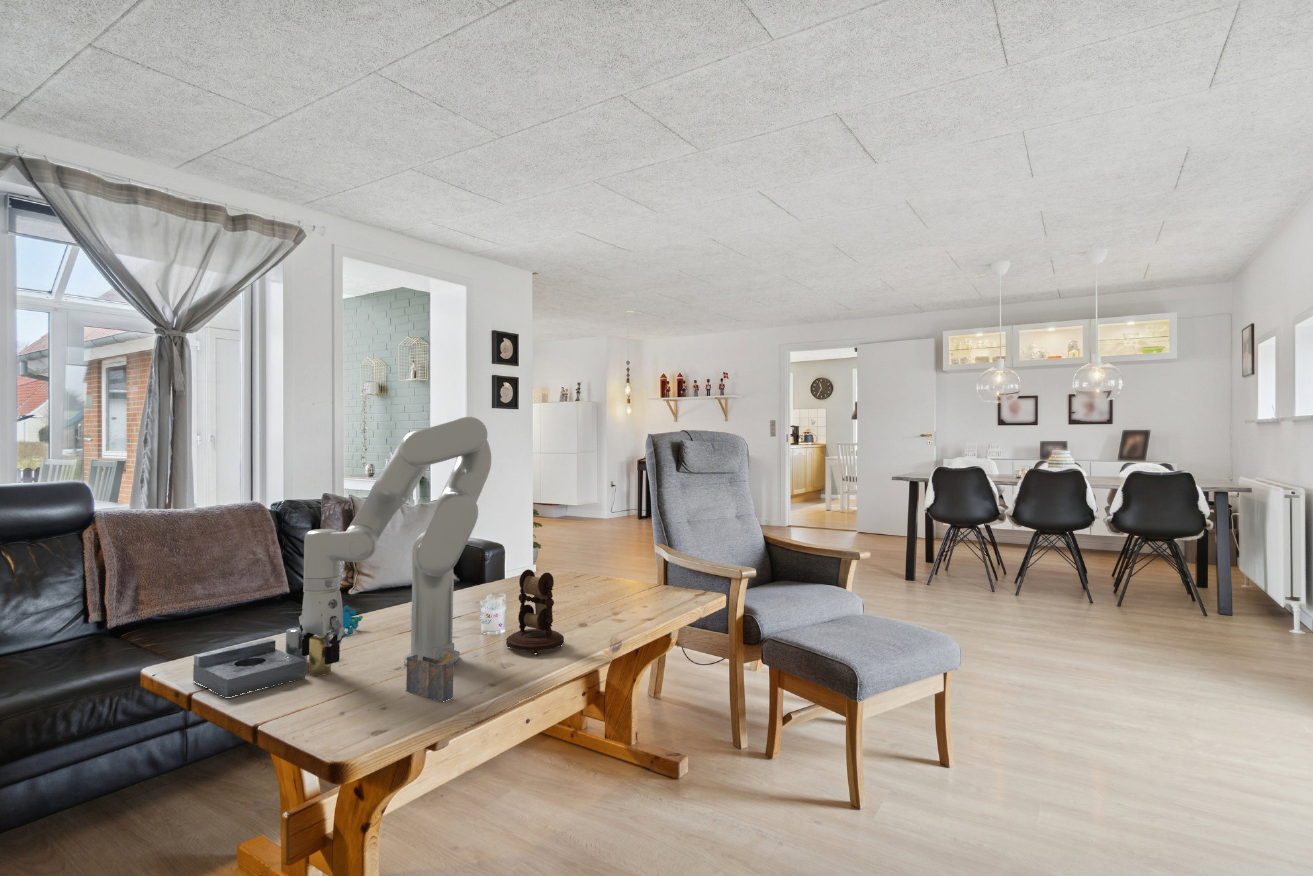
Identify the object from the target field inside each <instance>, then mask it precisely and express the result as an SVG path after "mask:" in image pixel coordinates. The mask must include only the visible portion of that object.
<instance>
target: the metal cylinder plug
mask: <svg viewBox="0 0 1313 876" xmlns="http://www.w3.org/2000/svg"><path fill="white" fill-rule="evenodd" d="M301 633H302V632H301V630H300V626H299V627H297V626H296V627H291V628H287V629H286V630H285V653H288V654H290V655H293V656H296V657H298V658H301V659H304V660H305V665H307V663H308V655H307V656H302V639H304V638H301Z"/></svg>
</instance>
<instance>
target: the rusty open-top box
mask: <svg viewBox="0 0 1313 876" xmlns="http://www.w3.org/2000/svg"><path fill="white" fill-rule="evenodd" d="M453 655H454V654H453ZM453 655H452V654H448V651H447V652H446V654H444V661H441V660H437V659H433V658H429V657H426V656H423V661H422V660H418V654H416V655H413V656H409V657H407V666H406V683H405V684H406V688H405V689H406V692H407V691H408V692H407V693H411V694H413V695H417V696H420V695H422V696H421V697H423V696H424V698H427V697H428V698H427V699H430V698H431V700H433V699H435V701H436V700H438V701H437V702H440V701H442V702H441V703H444V702H443V701H446V700H448V699H451V698H452V697H453V698H454V664H455V663H452V664H449V665H446V663H447V662H449V661H450V660H451V659H452V658H453ZM451 700H452V699H451ZM448 701H449V700H448ZM446 702H447V701H446Z"/></svg>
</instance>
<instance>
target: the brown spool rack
mask: <svg viewBox="0 0 1313 876" xmlns="http://www.w3.org/2000/svg"><path fill="white" fill-rule="evenodd" d="M518 582H519V584H518V585H519V587H520V589H519V592H520V594H519V595H518V600H519V603H520V607H519V611H518V617H517V618H518V623H519V625H518V627H519V631H515V632H513V633H512V634H510V635H508V636H507V637H506V640H505V641H506V643H505V645H506V646H507V647H510V649H513V650H517V651H526V652H533V653H532V654H534V653H537V654H538V652H539V651H549V650H552V649H553V650H554V649H556V648H559V647H560V646H561V645H562V644H563V645H564V643H565V636H564V635H563V634H562V633H559V631H556V630H553V629H552V627H553V625H552V624H553V622H554V617H553V606H554V604H555V600H554V599H553V590H554V588H553V587H554V586H555V585H554V584H555V582H554V577H553V575H552V573H550V572H543V574H541V575H540V576H539V577H538V576H536V575H535V572H534V570H532V569H525V570H524V571H522V573H521V574H520V577H519V581H518ZM526 602H531V603H533V604H534V607H535V610H534V607H533V606H532V604H525V603H526ZM526 627H529V628H527V629H526Z"/></svg>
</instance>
